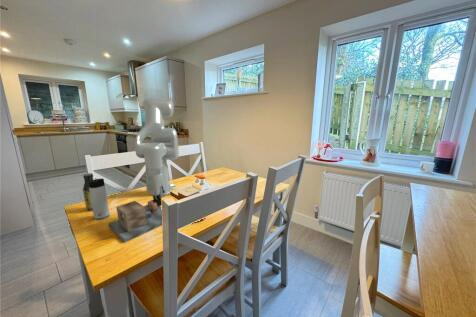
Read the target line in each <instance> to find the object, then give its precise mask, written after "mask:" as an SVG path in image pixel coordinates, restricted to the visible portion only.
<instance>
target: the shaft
mask: <svg viewBox="0 0 476 317" xmlns="http://www.w3.org/2000/svg"><path fill="white" fill-rule="evenodd" d="M143 206H144V207H145V212H147V211H150V212H151V213H154V212H156V211H157V210H158V206H157V203H156V201H155V200H153V199H151V200H148V201H147V204H146V205H143ZM121 216H122V219H123V220H124V217H123V214H122V215H121Z"/></svg>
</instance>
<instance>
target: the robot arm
mask: <svg viewBox="0 0 476 317" xmlns="http://www.w3.org/2000/svg"><path fill="white" fill-rule="evenodd" d="M142 107H143V111H144V114H145V116H144V117H145V118H144V122H145V124H144V126H143V127H142V128H141V129H140V130H139V131H138V132H137V134H136V135H135V136H136V137H135V140H134V142H135V144H134V146H135V147H134V148H135V150H134V151H135V156H136V157H138V159H139V158H140V159H144V165H145V166H144V167H145V184H146V185H145V187H146V192H147V193H149V194H150V195H151V196H152V200H155V201H156V203H157V206H158V207H159V206H160V207H162V203H163V202H162V198H164V197H165V196H168V195H170V194H171V193H170V191H171V190H172V191H173V188H175V187H177V184H176V183H170V174H169V173H170V172H169V166H168V164H167V163H166V162H165V161H168V160H171V161H173V160H177V159H178V158H179V156H180V155H179V142H178V141H179V140H178V132H177V130H176V129H175V128H172V127H165V120H164V118H163V117H172V116H173V114H174V111H175V110H174V109H175V106H174V103H173V100H172V99H170V98H153V97H152V98H145V99H143V101H142ZM148 136H150V140H151V142H143V141H144V140H145V138H147V137H148Z"/></svg>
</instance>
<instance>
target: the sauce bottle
mask: <svg viewBox="0 0 476 317" xmlns="http://www.w3.org/2000/svg"><path fill="white" fill-rule="evenodd" d="M82 176H83V179H84V184H83V188H82V192H83V200H84V204H85V209H86V210H87V211H89V212H91V211H92V212H93V208H92V202H91V197H90V191H89V184H88V182H89V181H93V180H94V174H93V173H92V172H91V173H90V172H89V173H84V174H83V175H82Z"/></svg>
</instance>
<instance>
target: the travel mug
mask: <svg viewBox="0 0 476 317" xmlns="http://www.w3.org/2000/svg"><path fill="white" fill-rule="evenodd" d="M88 184H89V191H90V197H91V202H92V208H93V210H92V213H93V218H94V220H96V221H103V220H106V219H107V218H108V217H110V209H109V204H108V202H109V201H108V197H107V192H106V191H107V190H106V185H105V179H104V178H96V179H93V181H89V182H88Z"/></svg>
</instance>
